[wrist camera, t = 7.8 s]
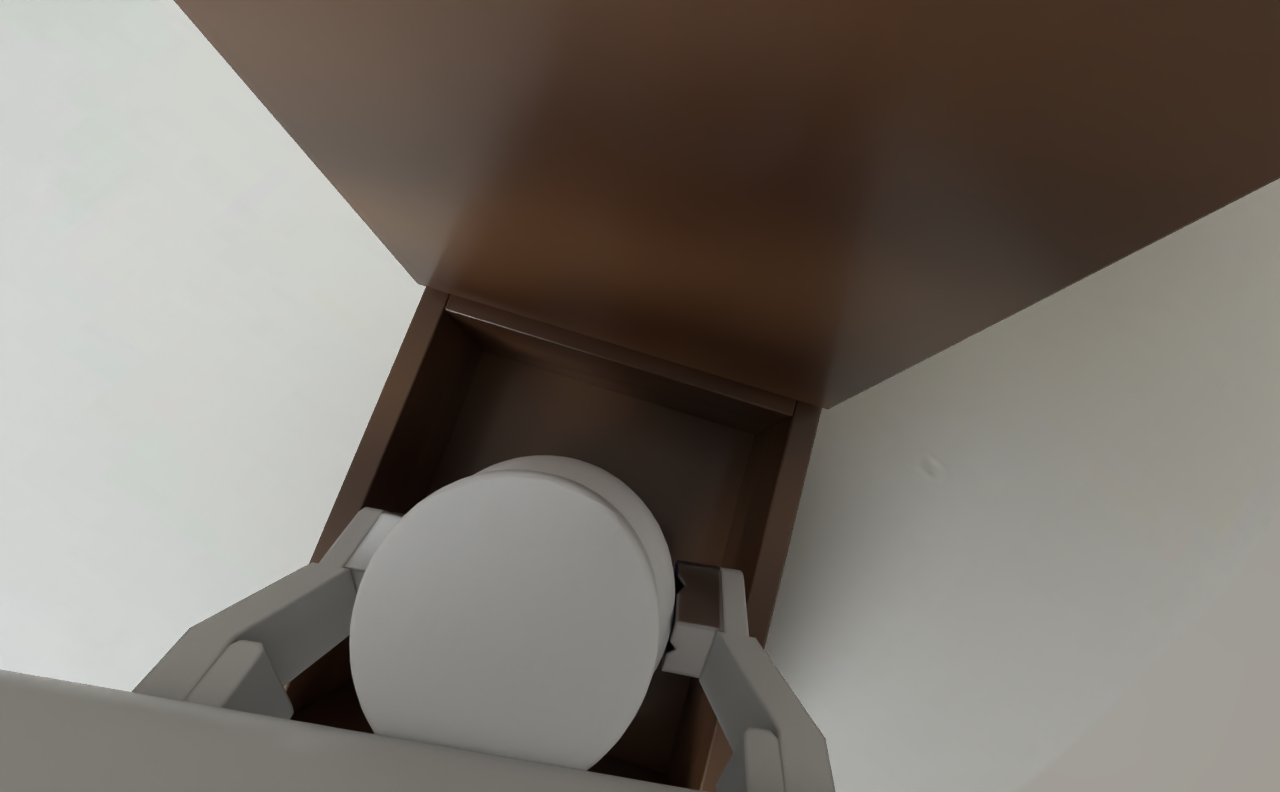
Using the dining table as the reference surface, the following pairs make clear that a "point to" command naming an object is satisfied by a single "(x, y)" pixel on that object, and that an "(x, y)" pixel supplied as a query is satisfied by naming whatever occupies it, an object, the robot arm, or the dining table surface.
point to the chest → (605, 437)
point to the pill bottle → (515, 614)
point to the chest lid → (768, 157)
